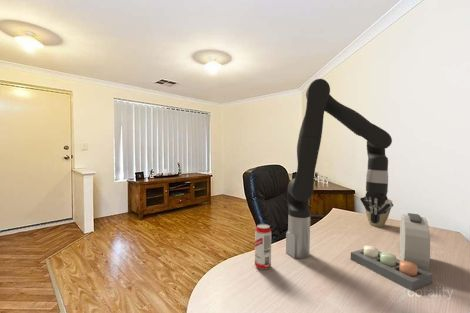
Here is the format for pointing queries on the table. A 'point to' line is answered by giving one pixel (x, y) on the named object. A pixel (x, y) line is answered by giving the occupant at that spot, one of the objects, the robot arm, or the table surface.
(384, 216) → the plant pot
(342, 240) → the table surface
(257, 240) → the beer can
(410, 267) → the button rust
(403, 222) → the alarm clock
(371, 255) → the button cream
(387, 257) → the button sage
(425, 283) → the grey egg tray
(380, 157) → the robot arm
